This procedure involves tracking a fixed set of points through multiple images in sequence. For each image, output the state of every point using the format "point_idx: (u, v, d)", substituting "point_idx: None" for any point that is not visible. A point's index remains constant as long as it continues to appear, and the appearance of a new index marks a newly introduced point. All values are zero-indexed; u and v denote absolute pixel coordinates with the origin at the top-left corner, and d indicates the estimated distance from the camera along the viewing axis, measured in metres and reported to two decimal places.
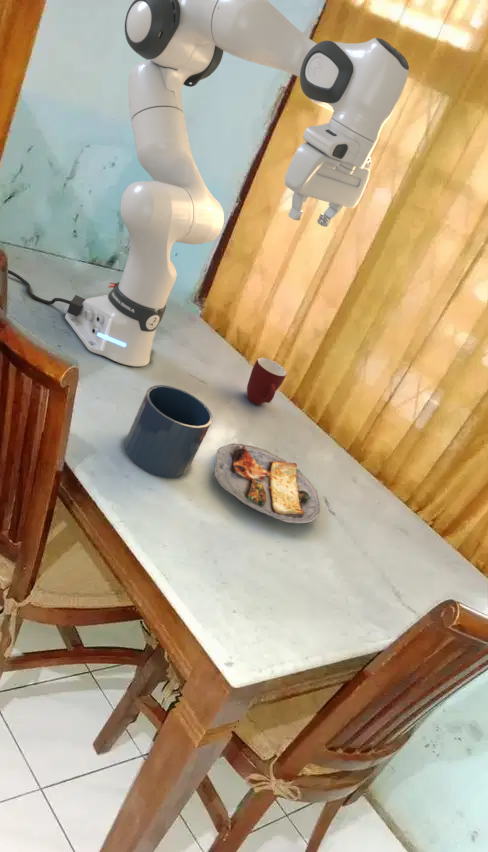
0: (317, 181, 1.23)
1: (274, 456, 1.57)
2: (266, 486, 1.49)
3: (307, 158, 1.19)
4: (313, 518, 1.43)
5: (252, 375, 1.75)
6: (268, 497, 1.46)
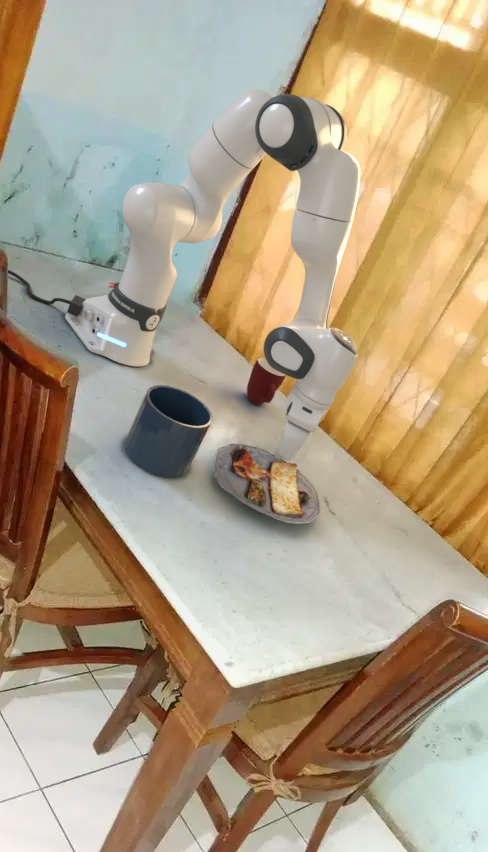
0: None
1: None
2: (266, 486, 1.49)
3: (296, 438, 1.43)
4: (313, 518, 1.43)
5: (252, 375, 1.75)
6: (268, 497, 1.45)
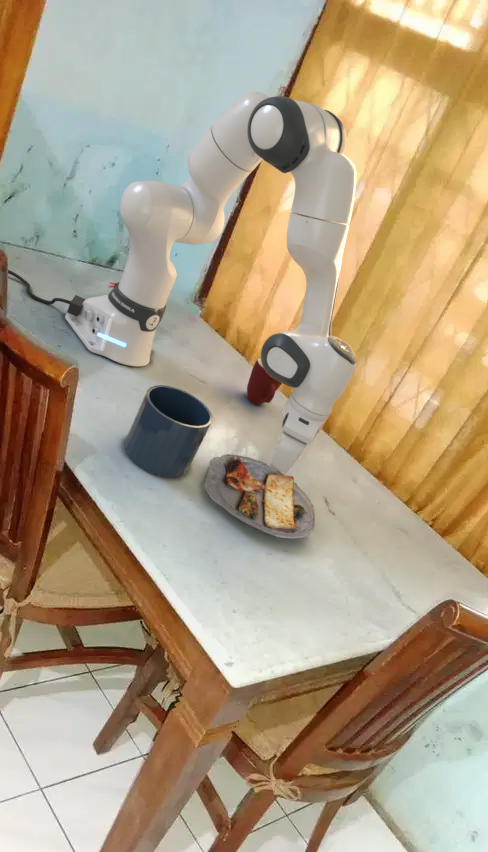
0: None
1: None
2: (260, 499, 1.44)
3: (292, 450, 1.38)
4: (307, 533, 1.38)
5: (252, 375, 1.75)
6: (261, 510, 1.41)
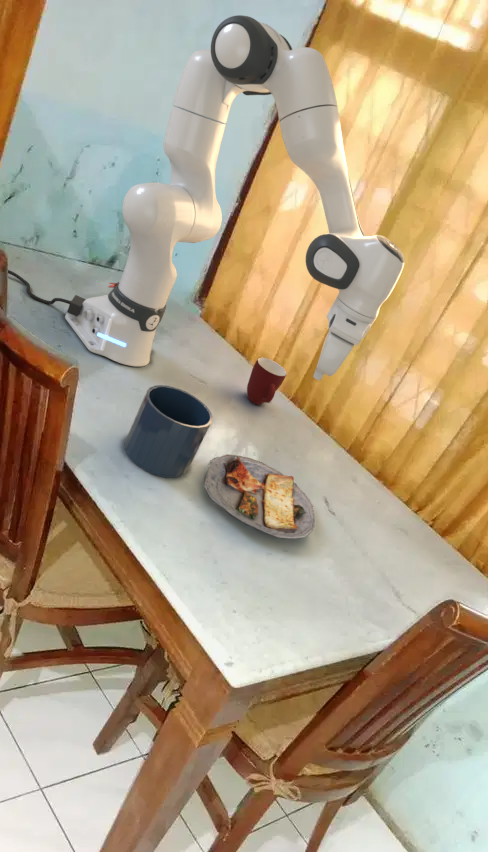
0: None
1: (271, 469, 1.52)
2: (260, 499, 1.44)
3: (340, 350, 1.37)
4: (307, 533, 1.38)
5: (252, 375, 1.75)
6: (261, 510, 1.40)
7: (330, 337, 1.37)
